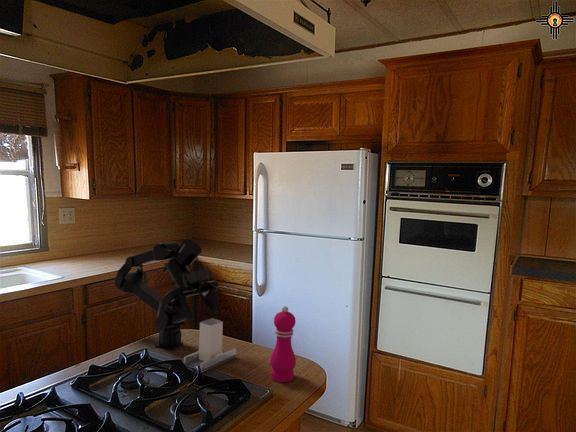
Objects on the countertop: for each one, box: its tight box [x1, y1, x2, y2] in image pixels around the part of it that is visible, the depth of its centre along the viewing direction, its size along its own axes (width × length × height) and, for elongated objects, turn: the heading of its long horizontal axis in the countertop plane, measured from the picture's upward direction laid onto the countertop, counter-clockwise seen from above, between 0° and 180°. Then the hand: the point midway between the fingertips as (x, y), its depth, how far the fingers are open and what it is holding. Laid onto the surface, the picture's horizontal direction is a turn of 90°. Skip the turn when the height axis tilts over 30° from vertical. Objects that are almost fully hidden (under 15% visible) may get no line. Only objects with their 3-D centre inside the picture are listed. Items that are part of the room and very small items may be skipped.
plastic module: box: [198, 317, 224, 361], centre depth 117 cm, size 4×5×11 cm
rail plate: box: [182, 348, 237, 371], centre depth 117 cm, size 8×14×3 cm, turn 145°
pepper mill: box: [269, 305, 297, 383], centre depth 108 cm, size 7×7×20 cm
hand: (204, 316), depth 119 cm, fingers open, 9 cm apart
